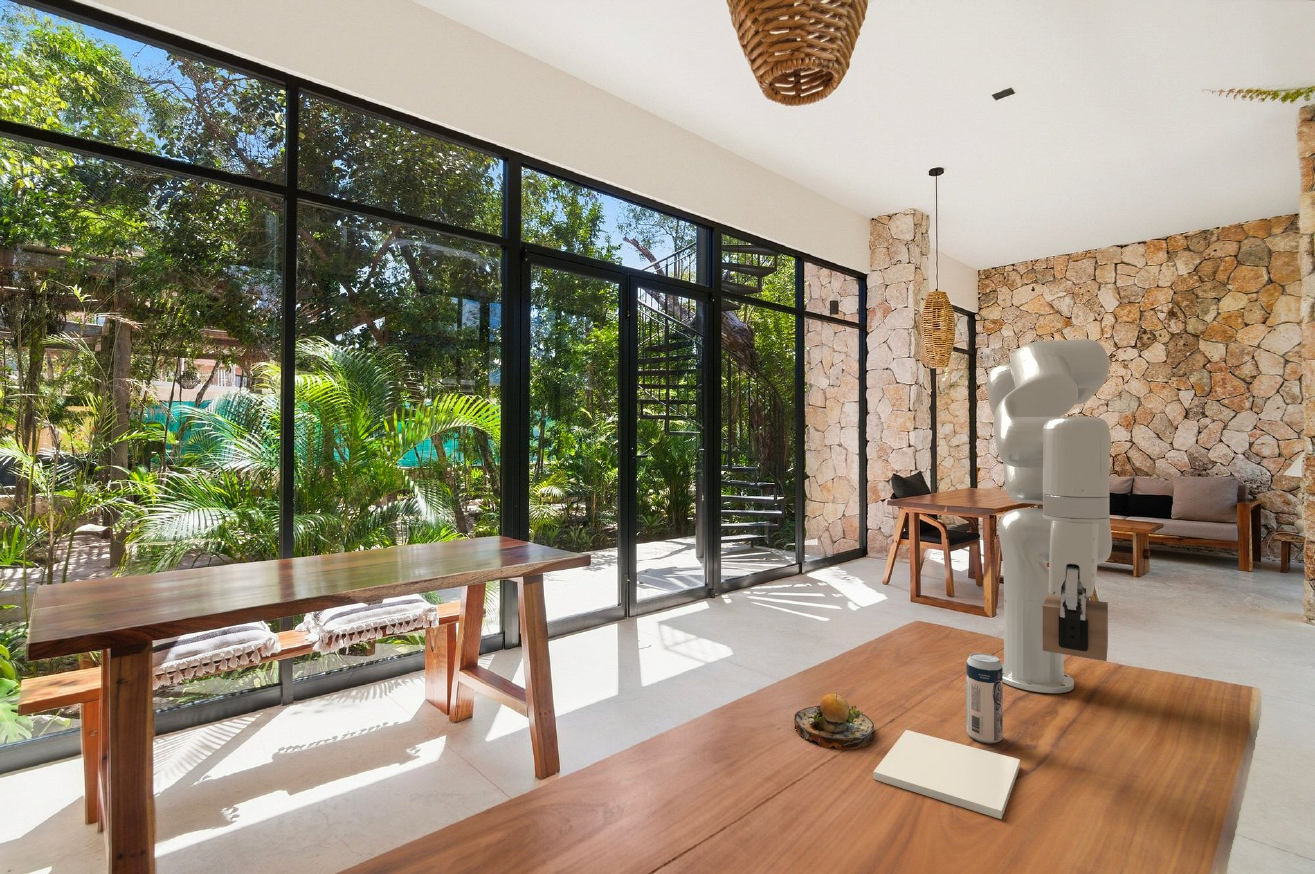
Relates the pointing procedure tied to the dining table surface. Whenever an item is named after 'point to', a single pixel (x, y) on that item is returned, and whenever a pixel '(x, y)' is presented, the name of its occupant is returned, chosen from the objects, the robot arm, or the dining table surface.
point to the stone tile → (950, 772)
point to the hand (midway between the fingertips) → (1075, 639)
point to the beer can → (984, 698)
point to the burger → (834, 724)
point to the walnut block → (1096, 629)
